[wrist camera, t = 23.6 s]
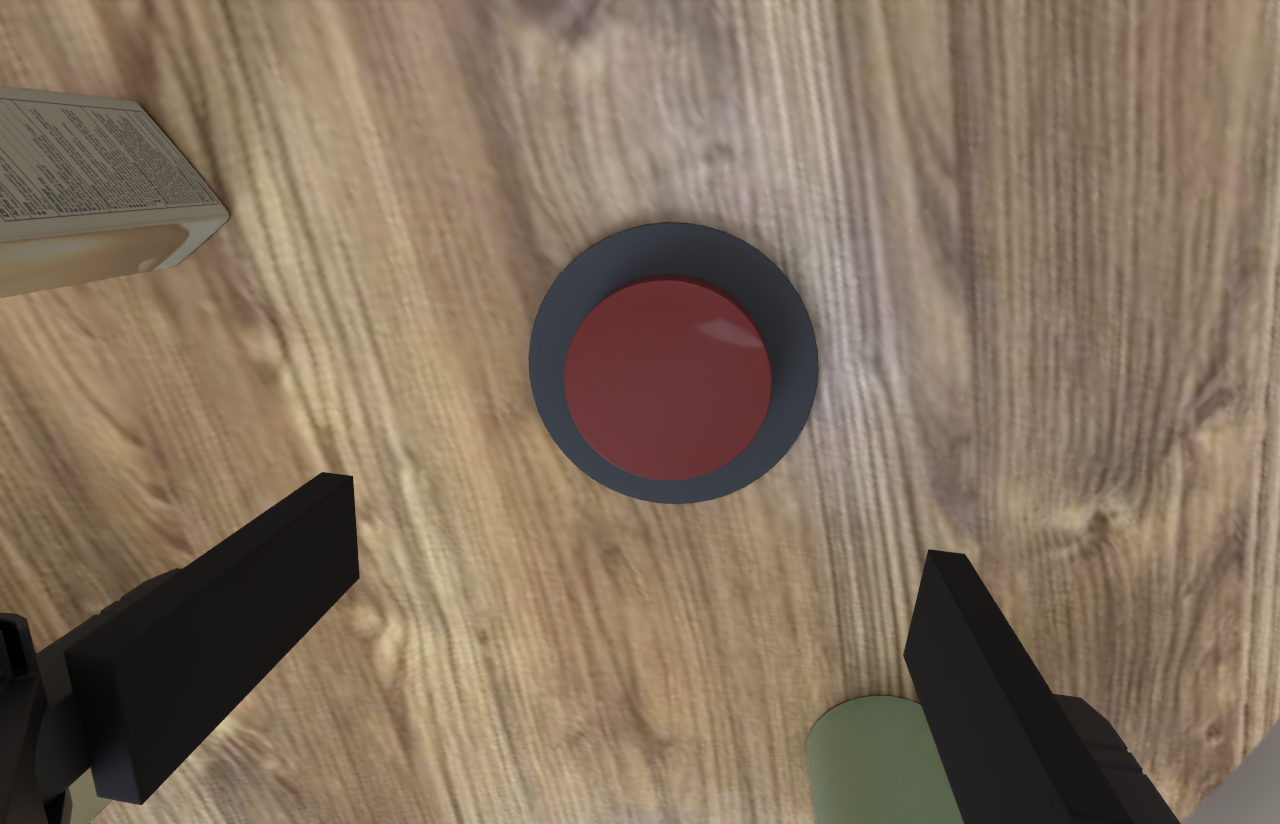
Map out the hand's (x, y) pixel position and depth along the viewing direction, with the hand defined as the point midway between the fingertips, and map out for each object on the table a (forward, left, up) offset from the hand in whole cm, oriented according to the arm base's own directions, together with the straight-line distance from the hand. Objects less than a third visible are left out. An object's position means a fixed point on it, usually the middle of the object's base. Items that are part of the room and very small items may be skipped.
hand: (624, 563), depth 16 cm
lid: (0, 0, -15) cm, 15 cm away
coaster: (0, 0, -17) cm, 17 cm away
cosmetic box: (+24, -6, -17) cm, 30 cm away
